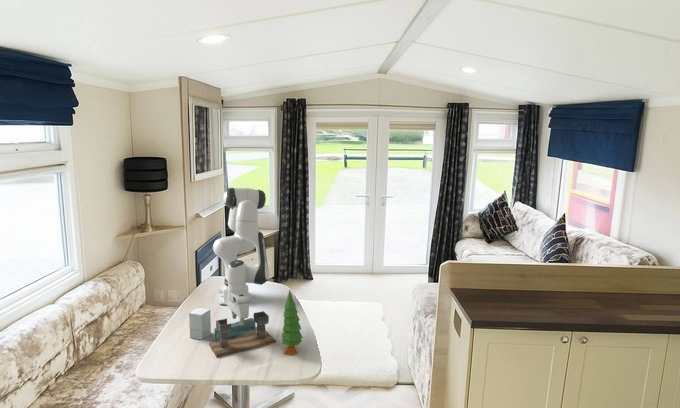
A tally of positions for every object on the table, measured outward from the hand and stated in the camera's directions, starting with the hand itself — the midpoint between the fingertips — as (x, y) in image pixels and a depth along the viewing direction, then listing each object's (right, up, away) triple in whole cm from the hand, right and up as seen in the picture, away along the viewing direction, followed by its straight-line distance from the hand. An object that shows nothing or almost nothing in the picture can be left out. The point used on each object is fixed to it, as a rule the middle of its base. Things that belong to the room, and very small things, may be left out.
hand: (237, 321), depth 203 cm
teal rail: (-1, -8, +1) cm, 8 cm away
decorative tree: (+28, -10, -14) cm, 33 cm away
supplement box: (-18, -7, 0) cm, 20 cm away
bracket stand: (+4, -9, -8) cm, 12 cm away
